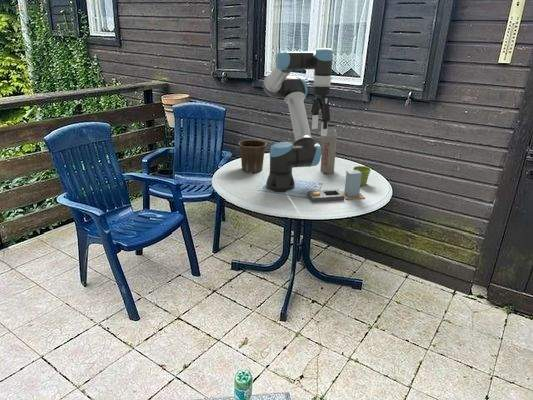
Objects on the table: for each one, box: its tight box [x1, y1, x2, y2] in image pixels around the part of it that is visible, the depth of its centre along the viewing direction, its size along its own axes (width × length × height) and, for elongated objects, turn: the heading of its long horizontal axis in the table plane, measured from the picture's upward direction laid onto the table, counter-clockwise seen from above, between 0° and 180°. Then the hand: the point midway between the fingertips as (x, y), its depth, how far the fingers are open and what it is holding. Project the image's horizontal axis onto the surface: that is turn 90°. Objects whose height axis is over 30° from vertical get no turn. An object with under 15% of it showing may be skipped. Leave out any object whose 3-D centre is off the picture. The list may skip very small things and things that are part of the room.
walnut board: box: [339, 190, 366, 201], centre depth 197 cm, size 10×10×1 cm
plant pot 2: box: [352, 165, 372, 186], centre depth 213 cm, size 9×9×9 cm
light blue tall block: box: [343, 169, 362, 197], centre depth 195 cm, size 4×6×12 cm
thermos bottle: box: [319, 123, 338, 174], centre depth 228 cm, size 8×8×28 cm
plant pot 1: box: [238, 139, 268, 174], centre depth 231 cm, size 16×16×16 cm
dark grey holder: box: [306, 188, 345, 203], centre depth 194 cm, size 9×16×4 cm, turn 101°
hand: (319, 132), depth 185 cm, fingers open, 13 cm apart
